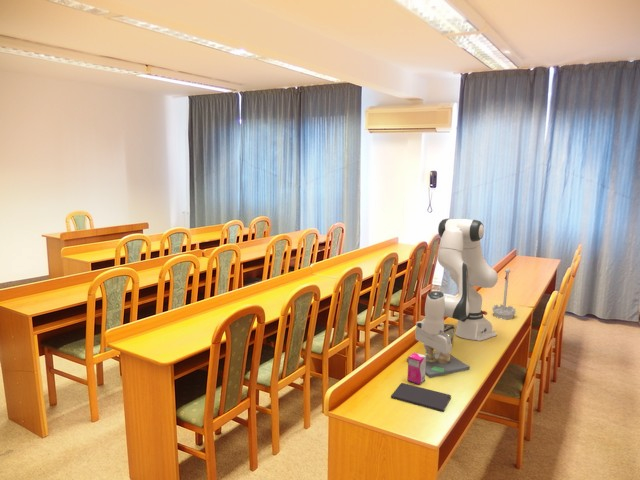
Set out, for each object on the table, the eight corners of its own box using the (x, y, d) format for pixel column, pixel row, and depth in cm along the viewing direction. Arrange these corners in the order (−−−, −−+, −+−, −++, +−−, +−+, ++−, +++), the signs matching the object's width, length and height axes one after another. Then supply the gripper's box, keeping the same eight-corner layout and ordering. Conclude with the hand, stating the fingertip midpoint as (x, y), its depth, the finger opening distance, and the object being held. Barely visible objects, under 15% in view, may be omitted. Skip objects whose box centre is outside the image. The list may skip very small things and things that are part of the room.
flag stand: (495, 311, 300) (499, 264, 294) (517, 315, 292) (522, 267, 287) (489, 316, 289) (493, 268, 284) (511, 321, 282) (516, 272, 276)
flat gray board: (444, 354, 235) (445, 350, 235) (470, 370, 219) (470, 366, 218) (406, 361, 227) (406, 357, 226) (430, 378, 210) (430, 374, 210)
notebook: (390, 399, 193) (443, 413, 183) (390, 395, 193) (443, 409, 183) (401, 385, 204) (451, 398, 194) (401, 382, 204) (451, 395, 194)
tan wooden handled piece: (444, 357, 228) (445, 341, 226) (452, 362, 222) (453, 346, 221) (418, 361, 223) (419, 345, 221) (425, 367, 217) (426, 350, 216)
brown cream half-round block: (443, 339, 253) (444, 321, 251) (453, 343, 249) (455, 325, 247) (430, 346, 245) (431, 327, 243) (440, 349, 240) (442, 331, 238)
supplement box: (413, 376, 212) (414, 351, 210) (425, 380, 208) (426, 355, 206) (406, 380, 207) (407, 356, 205) (419, 385, 204) (420, 360, 202)
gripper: (455, 333, 210) (453, 363, 213) (423, 319, 227) (422, 346, 230) (445, 336, 207) (443, 366, 210) (413, 321, 224) (412, 349, 227)
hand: (431, 355), depth 220 cm, fingers open, 4 cm apart
